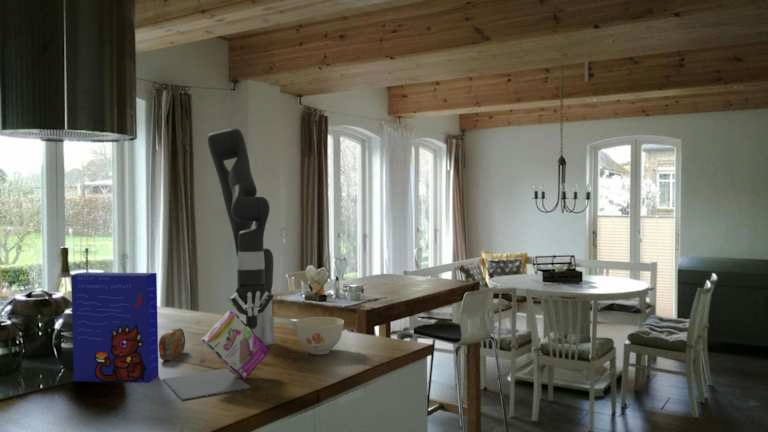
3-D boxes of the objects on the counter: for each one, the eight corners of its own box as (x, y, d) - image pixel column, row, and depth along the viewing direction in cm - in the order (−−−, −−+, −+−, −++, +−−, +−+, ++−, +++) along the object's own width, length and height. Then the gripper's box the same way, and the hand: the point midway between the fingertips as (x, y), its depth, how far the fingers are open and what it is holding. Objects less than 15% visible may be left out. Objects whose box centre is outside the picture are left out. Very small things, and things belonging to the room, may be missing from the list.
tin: (167, 363, 190) (166, 336, 189) (157, 363, 190) (156, 336, 190) (186, 351, 205) (185, 325, 204) (177, 350, 205) (176, 325, 205)
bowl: (285, 354, 199) (285, 324, 199) (313, 343, 213) (313, 315, 213) (327, 361, 192) (326, 329, 191) (353, 349, 206) (353, 319, 205)
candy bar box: (245, 381, 172) (205, 343, 165) (238, 377, 176) (199, 339, 169) (272, 350, 177) (234, 312, 170) (264, 346, 181) (228, 309, 174)
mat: (225, 370, 182) (225, 368, 182) (250, 388, 166) (250, 386, 166) (162, 380, 173) (162, 378, 173) (181, 400, 156) (181, 398, 156)
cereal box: (158, 376, 176) (156, 272, 175) (148, 383, 170) (146, 275, 169) (86, 374, 179) (83, 271, 177) (73, 381, 173) (71, 274, 171)
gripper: (267, 265, 181) (268, 324, 181) (223, 267, 174) (224, 329, 174) (278, 267, 175) (278, 328, 175) (232, 269, 167) (233, 333, 168)
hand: (251, 328), depth 174 cm, fingers closed
